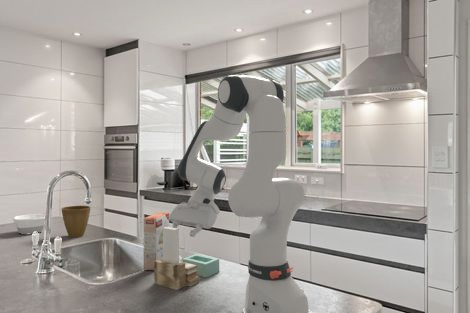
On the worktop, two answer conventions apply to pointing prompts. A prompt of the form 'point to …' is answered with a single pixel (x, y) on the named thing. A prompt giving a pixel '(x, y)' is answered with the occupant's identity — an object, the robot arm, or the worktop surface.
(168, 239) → the white strip
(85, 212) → the plant pot
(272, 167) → the robot arm
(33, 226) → the bowl
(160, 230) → the cracker box
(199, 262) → the teal holder
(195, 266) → the offcut stack
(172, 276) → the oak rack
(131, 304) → the worktop surface
